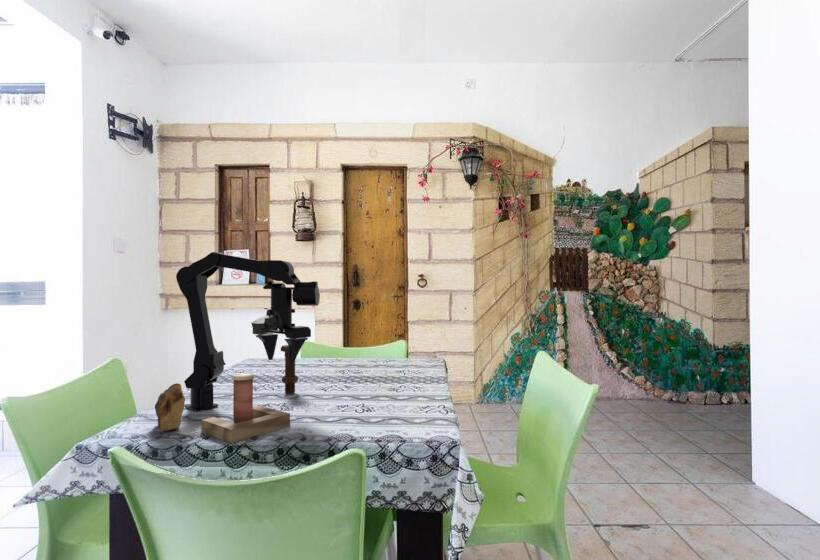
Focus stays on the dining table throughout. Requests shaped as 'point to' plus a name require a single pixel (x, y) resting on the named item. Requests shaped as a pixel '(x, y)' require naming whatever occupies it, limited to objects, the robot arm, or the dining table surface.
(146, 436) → the dining table surface
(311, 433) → the dining table surface
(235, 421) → the bobbin
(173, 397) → the decorative rock
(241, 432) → the notch board
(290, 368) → the bolt
